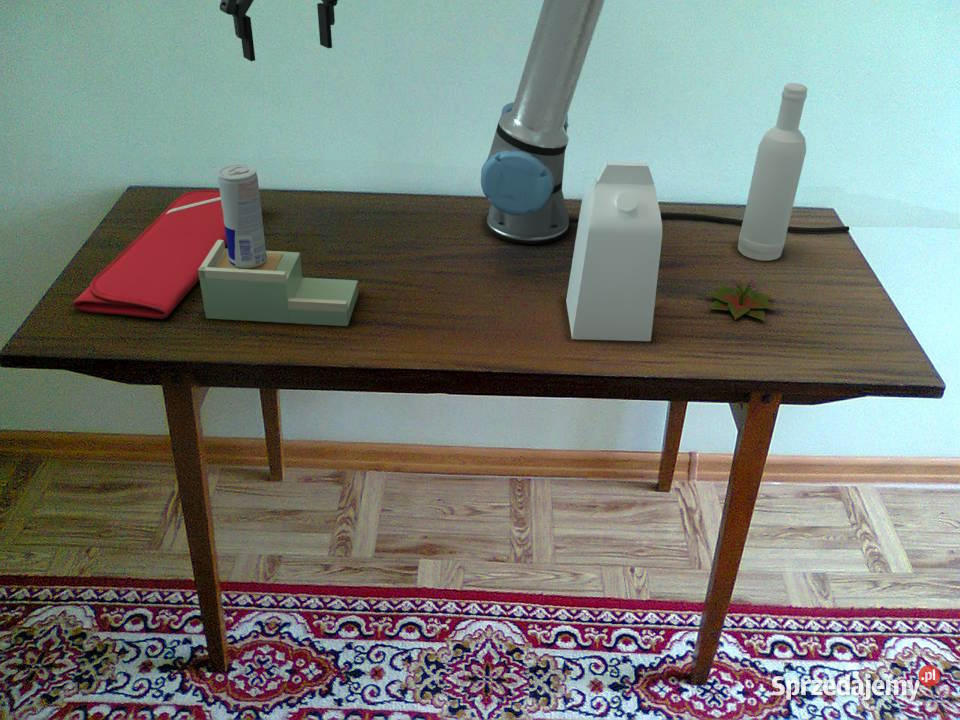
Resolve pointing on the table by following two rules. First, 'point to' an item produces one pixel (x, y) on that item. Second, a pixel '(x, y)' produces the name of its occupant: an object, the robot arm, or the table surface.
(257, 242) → the beverage can
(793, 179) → the bottle
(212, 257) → the green stepped stand
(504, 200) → the robot arm
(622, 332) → the milk
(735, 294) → the lily flower
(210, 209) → the dish drying mat
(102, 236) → the table surface
